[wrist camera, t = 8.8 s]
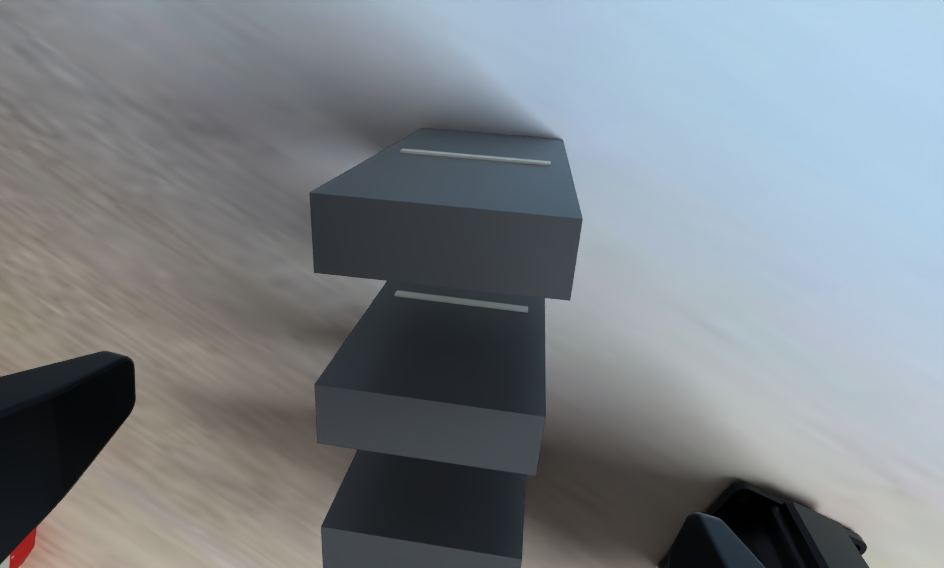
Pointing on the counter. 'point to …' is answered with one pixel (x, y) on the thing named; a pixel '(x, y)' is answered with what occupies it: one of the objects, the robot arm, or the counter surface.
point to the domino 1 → (454, 215)
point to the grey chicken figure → (20, 552)
